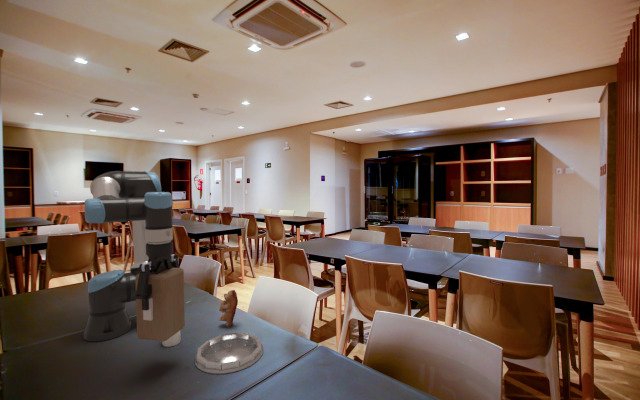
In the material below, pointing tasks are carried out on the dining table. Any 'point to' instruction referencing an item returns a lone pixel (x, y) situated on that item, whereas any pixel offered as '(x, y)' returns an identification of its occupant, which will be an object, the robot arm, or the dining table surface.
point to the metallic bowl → (228, 353)
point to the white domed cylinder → (172, 340)
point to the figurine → (228, 307)
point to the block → (163, 306)
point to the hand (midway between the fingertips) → (161, 312)
